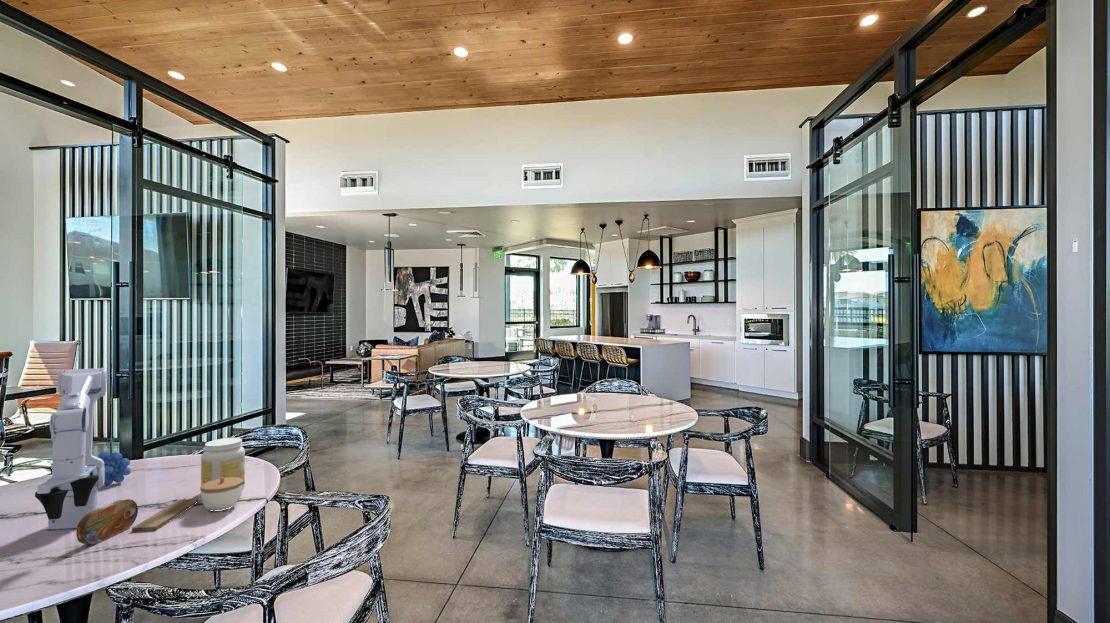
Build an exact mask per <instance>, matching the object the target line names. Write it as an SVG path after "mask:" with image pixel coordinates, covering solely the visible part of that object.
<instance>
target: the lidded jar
mask: <svg viewBox="0 0 1110 623" xmlns="http://www.w3.org/2000/svg"><path fill="white" fill-rule="evenodd" d="M242 483H243V480H242V479H241V478H236V477H229V478H224V477H221V478H220V479H216V480H212V481H209V482H206V483H204V484H203V485H201V484H200V498H201V499H200V500H201V503H202V506H204V508H206V509H208V510H213V511H215V510H222V509H226V508H229V507H231V506H233V505H234V506H235V505H236V504H237V502H238V501H239V500H240V498H241V496H242V491H243V488H242ZM234 506H233V507H234Z"/></svg>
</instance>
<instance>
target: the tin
mask: <svg viewBox="0 0 1110 623" xmlns="http://www.w3.org/2000/svg"><path fill="white" fill-rule="evenodd" d="M138 513H139V508H138V503H137V502H136V501H135V500H134V499H130V498H129V499H128V498H126V499H120V500H119V499H118V500H115V501H114V502H110V503H109V504H107V505H103V506H102V507H99V508H97V509H96V510H94V511H92V512H90V513H88V514H86V515H85V516H84V517H83V518H82V519H81V520H80V522H79V523H78V525H77V528H76V531H75V533H76V539H77V541H78V542H79V543H80V544H83V545H98V544H100V543H101V544H102V542H105V541H107V540H109V539H111V538H112V537H115V536H116V535H119V534H121V533H123V532H125V531H127V530H128V529H130V528H131V526H132V525H133V524H134V523H135V521H136V519H137V517H138Z"/></svg>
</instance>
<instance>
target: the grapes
mask: <svg viewBox="0 0 1110 623" xmlns="http://www.w3.org/2000/svg"><path fill="white" fill-rule="evenodd" d="M96 457H98V458H100V459H102V460H103V461H104V467H105V480H104V485H103V486H111V485H112V484H113V483H114V482H115V483H118V484H119V483H122V482H124V480H125V476H128V475H130V474H131V473H132V470H131V468H130V467H128V466H130V464H131V460H129V458H125V457H123V454H122V453H120V452H118V451H114V452H112V453H110V452H109V451H108V450H107V451H106V450H105V451H104V450H103V451H101V452H99V454H98V456H96ZM89 466H95V465H89ZM86 467H88V466H86Z"/></svg>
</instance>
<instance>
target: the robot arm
mask: <svg viewBox="0 0 1110 623" xmlns="http://www.w3.org/2000/svg"><path fill="white" fill-rule="evenodd" d="M107 384H108V369H106V368H105V367H97V368H79V369H78V368H77V369H76V368H74V369H60V371H58V374H57V384H56V386H57V390H58V392H59V396H61V398H60V399H59V401H58V402H59V403H58V406H57V408H56V409H57V410H56V412H54V413H53V412H52V413H51V415H50V419H49V430H50V435H51V436H50V437H51V438H50V439H51V442H52V462H51V464H52V468H51V469H52V471H51V472H52V474H51V477H50V478H49V479H47V480H46V481H44V482H43V483H41V484H39V485H37V489H36V491H35V493H34V497H35V498H36V499H37V500H38V501H39V502H40V504H41V505H42V506H43V509H44V511H45V514H46V517H47V520H48V521H47V523H48V524H47V525H48V526H47V527H45V530H46V531H47V530H49V529H51V530H65V529H66V530H67V529H77V525H78V523H79V522H80V520H81V519H82V518H83V517H84V516H85V515H86V514H88V513H90V512H92V511H94V510H96V509H98V506H99V505H98V504H99V503H98V502H99V501H98V500H99V498H98V496H99V495H98V494H99V492H98V491H99V488H102V487H103V486H105V485H104V480H105V467H104V461H103V460H102V459H100V458H98V457H99V456H98V457H96V456H95V455H93V437H94V419H95V418H94V415H95V414H94V413H95V405H96V402H97V401H98V399H99V398H102V397H104V396H106V392H107V387H108V386H107ZM89 465H95V466H89ZM87 466H88V467H87Z"/></svg>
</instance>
